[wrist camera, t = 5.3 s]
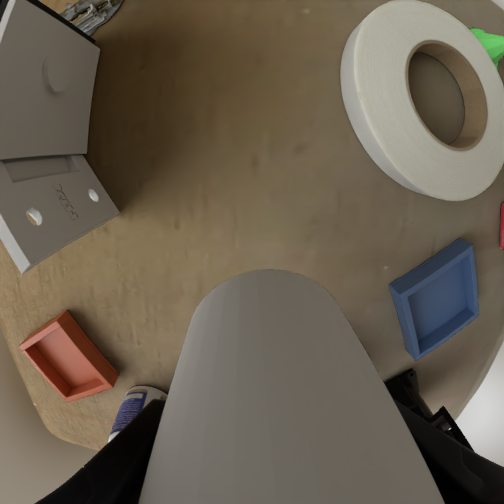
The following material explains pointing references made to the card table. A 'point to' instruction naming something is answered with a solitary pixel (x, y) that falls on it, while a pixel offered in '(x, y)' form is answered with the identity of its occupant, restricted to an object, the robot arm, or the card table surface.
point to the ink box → (502, 227)
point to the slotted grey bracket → (90, 13)
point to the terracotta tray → (68, 359)
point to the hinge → (46, 133)
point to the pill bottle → (134, 405)
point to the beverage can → (280, 407)
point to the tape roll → (403, 109)
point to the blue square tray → (437, 298)
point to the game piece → (491, 44)
